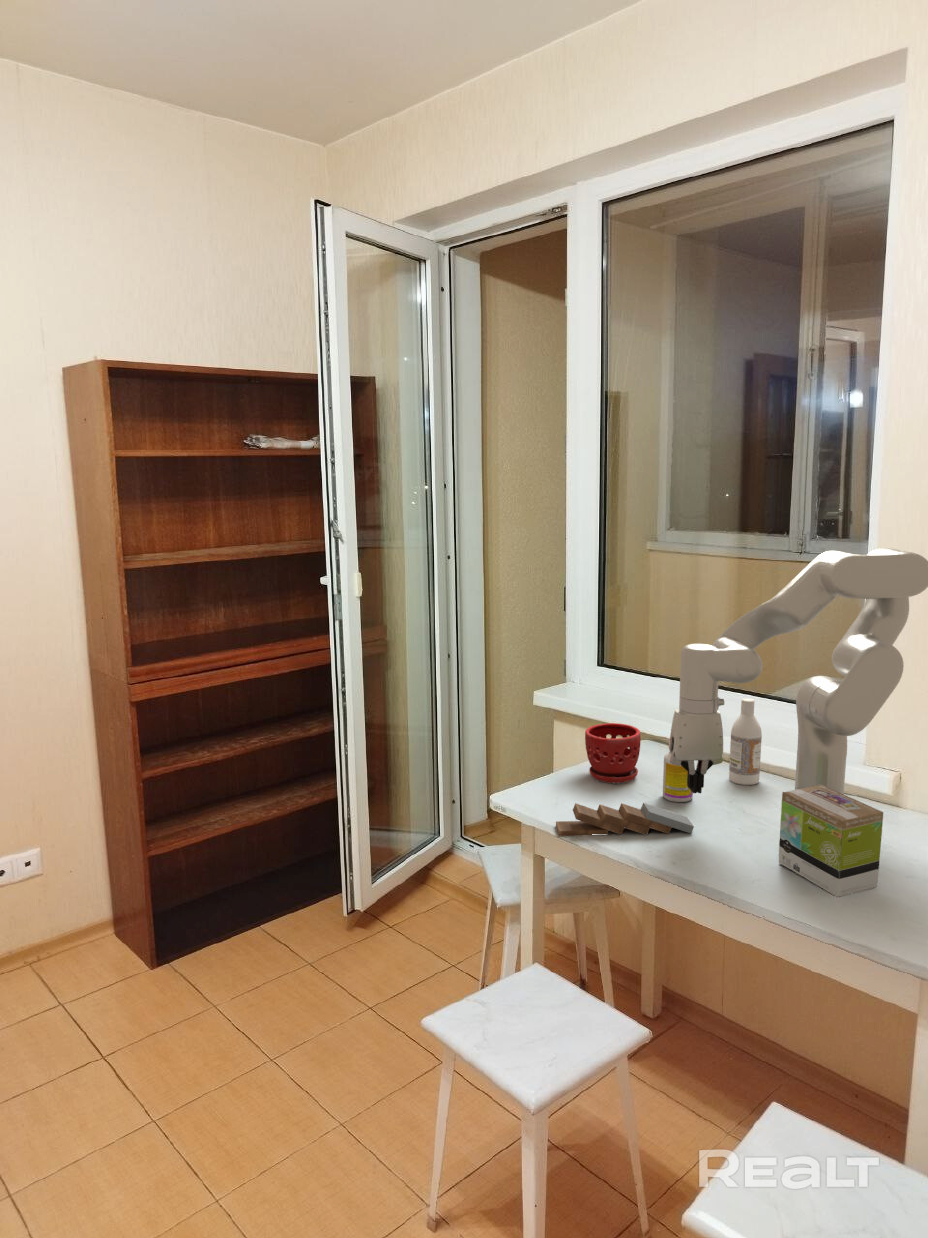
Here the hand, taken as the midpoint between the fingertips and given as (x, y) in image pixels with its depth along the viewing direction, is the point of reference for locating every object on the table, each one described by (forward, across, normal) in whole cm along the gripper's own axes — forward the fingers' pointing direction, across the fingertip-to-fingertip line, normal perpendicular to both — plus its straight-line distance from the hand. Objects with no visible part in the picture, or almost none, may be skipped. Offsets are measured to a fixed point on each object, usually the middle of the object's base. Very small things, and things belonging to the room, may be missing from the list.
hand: (695, 790), depth 185 cm
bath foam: (+8, -21, -27) cm, 35 cm away
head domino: (+7, +1, 0) cm, 7 cm away
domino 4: (+7, +6, 0) cm, 9 cm away
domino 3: (+8, +10, 0) cm, 13 cm away
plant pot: (+8, +10, -32) cm, 34 cm away
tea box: (+8, -17, +23) cm, 30 cm away
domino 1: (+8, +18, 0) cm, 20 cm away
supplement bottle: (+8, -2, -17) cm, 19 cm away
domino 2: (+7, +15, 0) cm, 17 cm away
